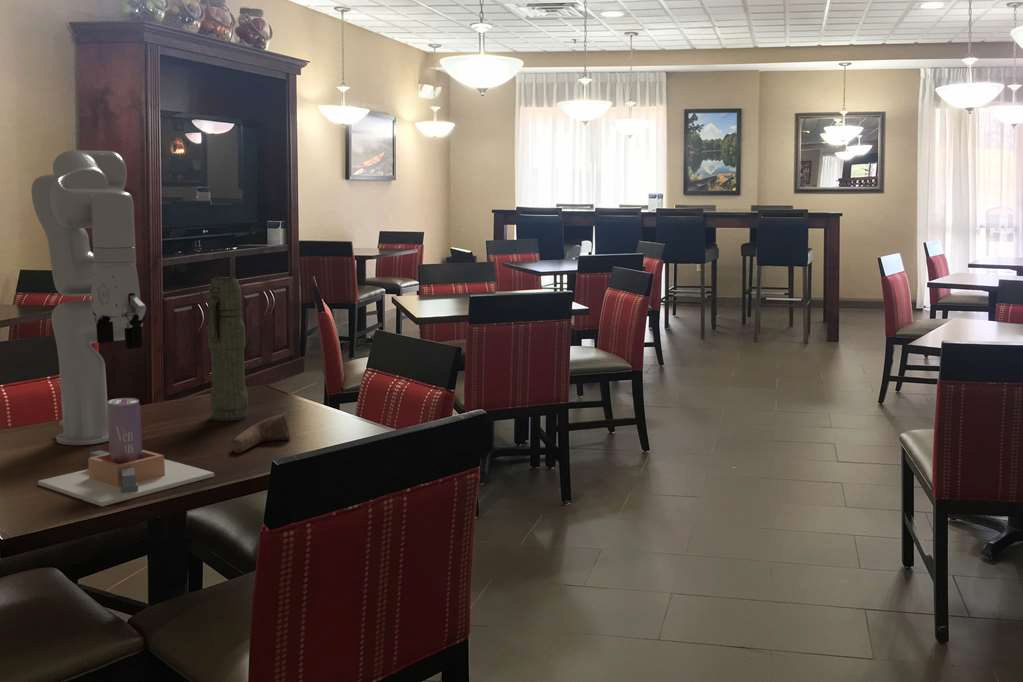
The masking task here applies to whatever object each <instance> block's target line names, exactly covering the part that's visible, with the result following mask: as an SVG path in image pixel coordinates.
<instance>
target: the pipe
mask: <svg viewBox="0 0 1023 682" xmlns="http://www.w3.org/2000/svg"><path fill="white" fill-rule="evenodd" d="M290 434H291V433H290V431H289V427H288V422H287V417H286V414H285V412H283V413H281V414H277V415H274V416H271V417H267V418H265V419H263V420H261V421H258V422H257V423H255V424H253V425H251V426H250V427H248V428H247V429H245V430H244V431H242V432H240V433H238V435H237V436H236V437H235V438H234V439H233V440H232V441H231V443H230V449H231V450H232V452H234V453H238V454H239V453H243V452H245V451H247V450H249V449H251V448H253V447H255V446H256V445H258V444H259V443H265V442H277V441H290V440H291V435H290Z"/></svg>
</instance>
